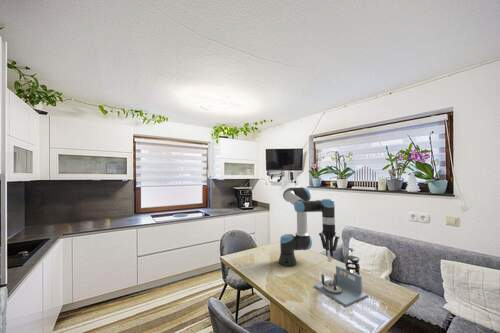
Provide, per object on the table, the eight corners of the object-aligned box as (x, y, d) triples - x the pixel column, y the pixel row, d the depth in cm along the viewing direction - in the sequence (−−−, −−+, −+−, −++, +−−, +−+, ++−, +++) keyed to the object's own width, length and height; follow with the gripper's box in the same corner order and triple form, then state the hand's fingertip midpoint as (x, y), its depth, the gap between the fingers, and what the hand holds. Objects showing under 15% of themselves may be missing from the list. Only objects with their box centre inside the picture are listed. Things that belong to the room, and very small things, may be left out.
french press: (354, 288, 132) (353, 252, 133) (342, 281, 140) (340, 248, 141) (365, 283, 137) (363, 249, 139) (352, 277, 145) (351, 245, 147)
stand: (314, 286, 134) (313, 269, 134) (334, 279, 143) (334, 263, 144) (345, 306, 112) (344, 286, 113) (367, 296, 122) (366, 277, 122)
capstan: (327, 294, 122) (327, 281, 123) (319, 283, 134) (319, 272, 135) (346, 293, 123) (346, 280, 124) (337, 283, 135) (336, 271, 135)
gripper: (316, 222, 130) (317, 259, 128) (336, 226, 120) (337, 266, 119) (322, 221, 135) (323, 256, 133) (341, 224, 125) (342, 262, 124)
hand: (329, 261), depth 126 cm, fingers closed
